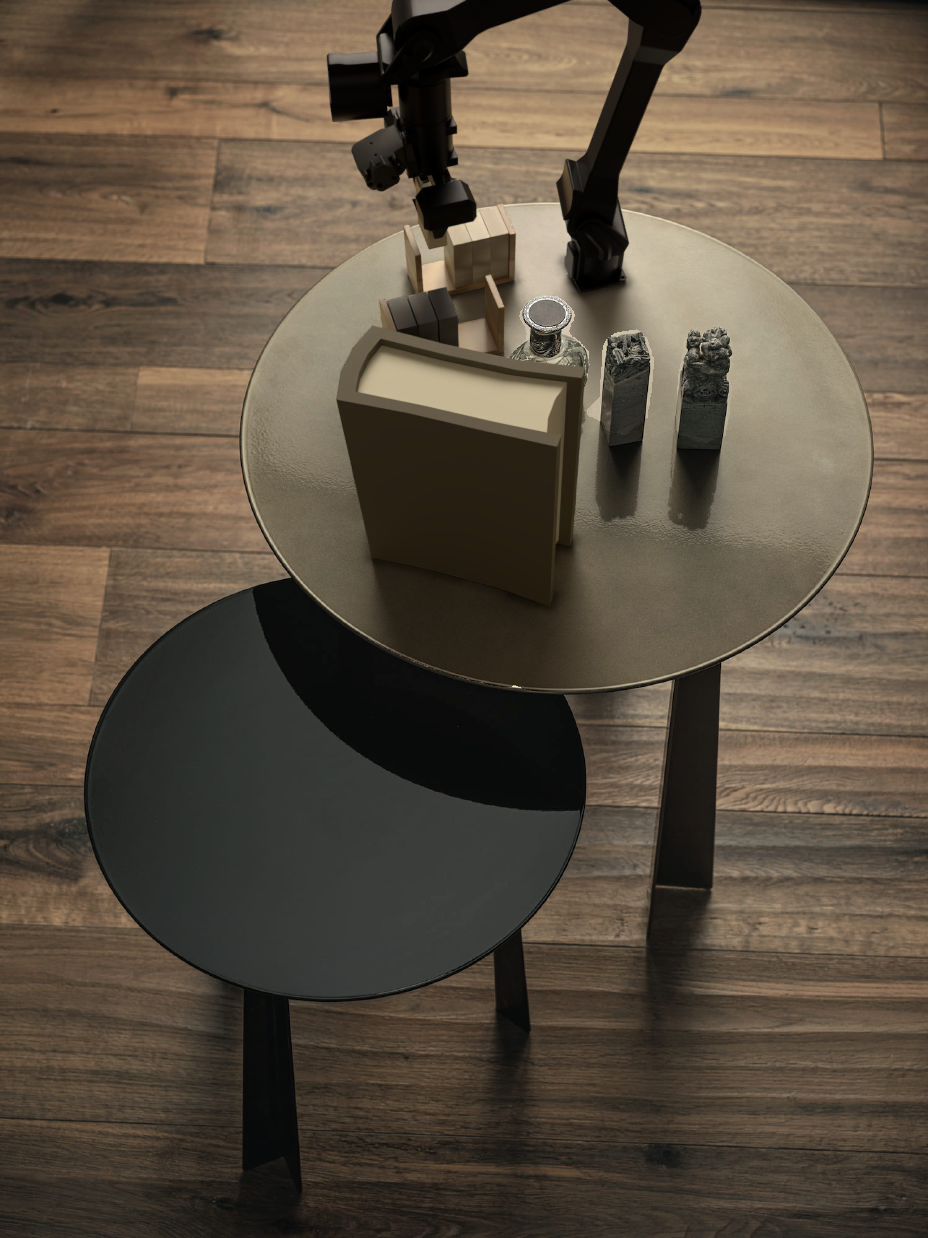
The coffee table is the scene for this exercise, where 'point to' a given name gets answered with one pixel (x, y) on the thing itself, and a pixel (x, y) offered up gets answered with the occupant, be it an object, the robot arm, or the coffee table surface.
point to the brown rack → (467, 255)
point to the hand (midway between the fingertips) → (432, 222)
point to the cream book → (427, 234)
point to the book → (463, 458)
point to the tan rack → (447, 319)
